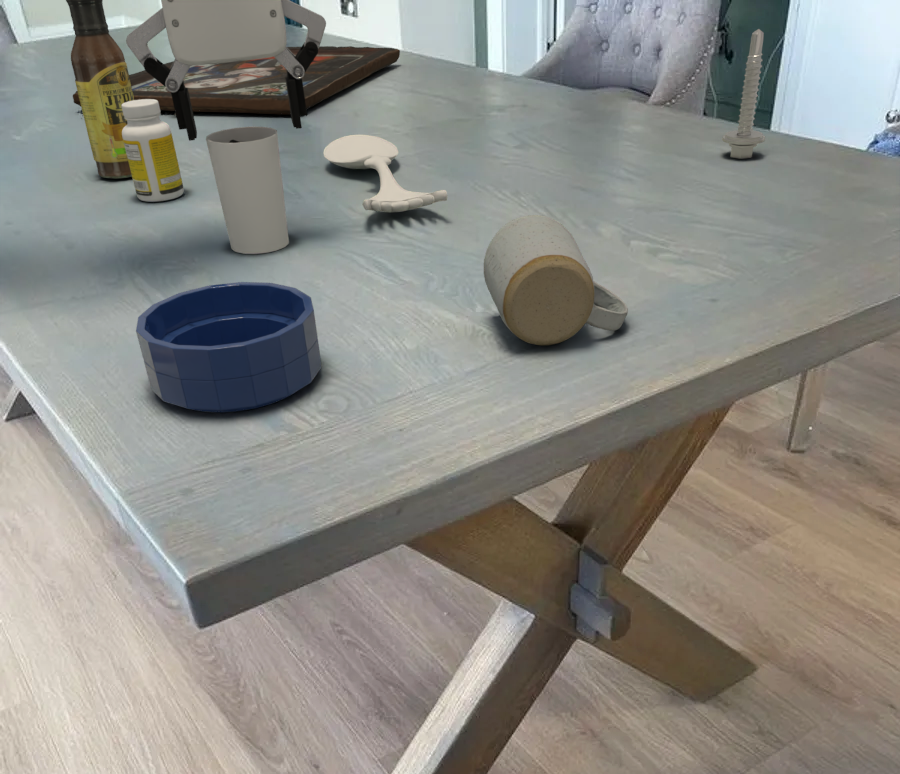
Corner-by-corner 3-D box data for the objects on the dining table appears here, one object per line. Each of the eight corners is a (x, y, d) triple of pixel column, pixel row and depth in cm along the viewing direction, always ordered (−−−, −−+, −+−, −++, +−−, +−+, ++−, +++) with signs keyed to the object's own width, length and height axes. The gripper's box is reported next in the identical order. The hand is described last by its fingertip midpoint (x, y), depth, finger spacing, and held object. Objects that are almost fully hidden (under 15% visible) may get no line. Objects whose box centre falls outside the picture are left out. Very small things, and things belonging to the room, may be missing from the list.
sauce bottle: (128, 183, 114) (81, -11, 102) (88, 179, 116) (37, -11, 104) (160, 169, 119) (119, -18, 106) (121, 166, 121) (76, -18, 108)
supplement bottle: (188, 188, 111) (168, 96, 105) (180, 201, 107) (160, 105, 100) (142, 191, 111) (120, 99, 105) (133, 204, 106) (109, 109, 100)
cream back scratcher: (365, 234, 94) (362, 198, 92) (319, 160, 118) (316, 130, 116) (452, 223, 95) (451, 188, 93) (389, 152, 120) (387, 122, 118)
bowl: (118, 394, 68) (99, 327, 64) (236, 334, 75) (224, 272, 72) (241, 433, 62) (227, 363, 59) (355, 364, 70) (347, 298, 67)
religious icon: (69, 114, 149) (63, 93, 147) (211, 63, 182) (208, 45, 180) (297, 119, 138) (294, 96, 136) (403, 64, 171) (402, 45, 169)
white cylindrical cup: (219, 256, 91) (197, 144, 84) (234, 234, 96) (214, 128, 90) (287, 254, 90) (270, 141, 84) (298, 232, 95) (283, 125, 89)
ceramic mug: (501, 356, 69) (502, 251, 65) (482, 314, 76) (482, 216, 71) (639, 344, 70) (650, 240, 66) (609, 304, 77) (617, 207, 72)
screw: (718, 160, 109) (722, 150, 113) (761, 162, 108) (763, 151, 112) (734, 32, 101) (737, 25, 105) (780, 32, 100) (782, 25, 104)
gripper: (305, -108, 80) (333, 113, 91) (99, -91, 78) (152, 133, 89) (313, -106, 74) (342, 129, 85) (90, -88, 72) (148, 151, 83)
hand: (245, 131), depth 87 cm, fingers open, 9 cm apart
